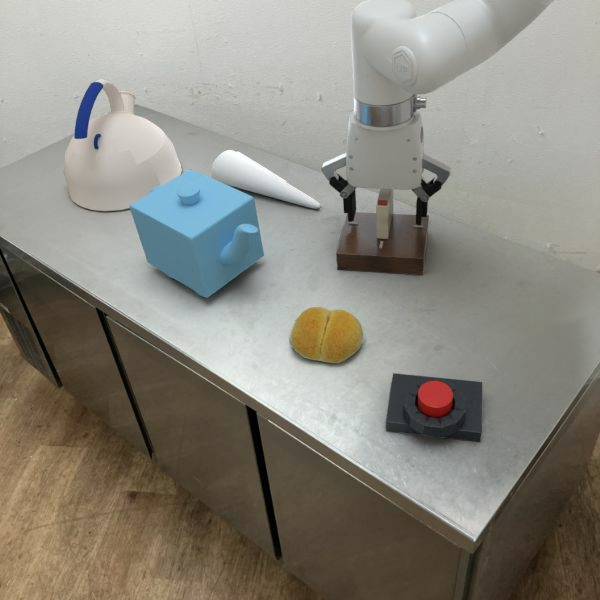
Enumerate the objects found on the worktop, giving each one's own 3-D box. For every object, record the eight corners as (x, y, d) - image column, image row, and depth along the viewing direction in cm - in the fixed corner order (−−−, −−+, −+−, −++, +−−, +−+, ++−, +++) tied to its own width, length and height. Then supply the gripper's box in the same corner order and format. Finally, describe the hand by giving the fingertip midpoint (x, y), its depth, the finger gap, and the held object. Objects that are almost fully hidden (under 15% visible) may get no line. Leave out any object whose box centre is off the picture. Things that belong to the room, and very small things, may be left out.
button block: (481, 391, 74) (484, 371, 71) (480, 452, 68) (483, 432, 65) (393, 382, 76) (392, 362, 74) (384, 440, 70) (384, 421, 68)
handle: (382, 211, 96) (382, 178, 92) (393, 212, 95) (393, 179, 92) (376, 238, 91) (376, 204, 87) (388, 239, 91) (387, 205, 87)
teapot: (139, 264, 97) (112, 186, 88) (194, 227, 103) (175, 150, 93) (240, 326, 85) (221, 243, 76) (296, 281, 91) (286, 198, 82)
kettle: (195, 149, 122) (173, 54, 109) (162, 213, 107) (133, 111, 95) (95, 150, 125) (63, 58, 113) (50, 212, 110) (7, 114, 98)
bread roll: (356, 370, 78) (354, 347, 75) (285, 359, 80) (281, 337, 77) (370, 322, 83) (369, 299, 81) (303, 313, 86) (300, 291, 83)
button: (452, 392, 70) (453, 382, 69) (451, 419, 67) (452, 409, 66) (419, 389, 71) (419, 379, 70) (416, 415, 68) (416, 405, 67)
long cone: (295, 236, 101) (211, 187, 110) (322, 220, 105) (238, 173, 114) (297, 206, 98) (210, 157, 107) (324, 189, 101) (238, 144, 110)
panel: (429, 222, 98) (430, 205, 96) (423, 275, 89) (423, 257, 87) (350, 218, 101) (349, 201, 98) (337, 269, 92) (335, 252, 90)
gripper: (456, 93, 82) (448, 205, 93) (322, 92, 86) (330, 200, 97) (453, 121, 76) (445, 237, 88) (310, 119, 80) (321, 230, 92)
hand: (385, 218), depth 93 cm, fingers open, 9 cm apart
